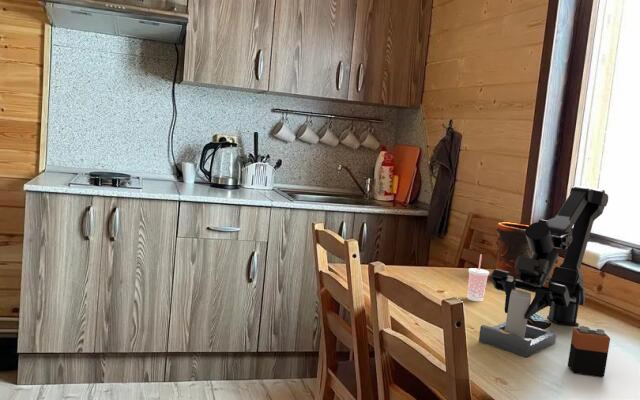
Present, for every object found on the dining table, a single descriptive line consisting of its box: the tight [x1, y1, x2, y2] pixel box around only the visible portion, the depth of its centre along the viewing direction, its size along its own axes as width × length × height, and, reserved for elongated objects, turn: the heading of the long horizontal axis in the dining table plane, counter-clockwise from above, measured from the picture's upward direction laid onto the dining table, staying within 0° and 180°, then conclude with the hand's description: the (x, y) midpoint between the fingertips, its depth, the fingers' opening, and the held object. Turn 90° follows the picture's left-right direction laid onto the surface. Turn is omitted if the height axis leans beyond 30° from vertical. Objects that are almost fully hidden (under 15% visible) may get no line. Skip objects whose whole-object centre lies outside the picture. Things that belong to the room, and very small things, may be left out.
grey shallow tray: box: [478, 321, 557, 358], centre depth 153 cm, size 18×12×4 cm
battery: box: [567, 325, 611, 378], centre depth 137 cm, size 4×7×10 cm, turn 83°
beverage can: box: [505, 289, 532, 338], centre depth 151 cm, size 5×5×12 cm
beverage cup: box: [467, 254, 490, 302], centre depth 190 cm, size 6×6×14 cm
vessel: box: [495, 221, 533, 280], centre depth 221 cm, size 14×14×20 cm
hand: (515, 314), depth 150 cm, fingers closed on beverage can, 5 cm apart
